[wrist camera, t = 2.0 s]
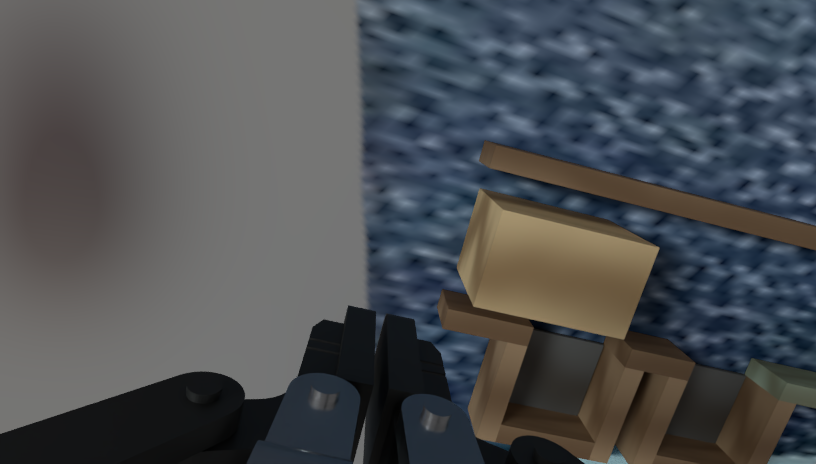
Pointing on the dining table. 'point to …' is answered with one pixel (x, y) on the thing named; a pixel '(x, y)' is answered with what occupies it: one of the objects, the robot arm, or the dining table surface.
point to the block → (553, 265)
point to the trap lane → (627, 357)
